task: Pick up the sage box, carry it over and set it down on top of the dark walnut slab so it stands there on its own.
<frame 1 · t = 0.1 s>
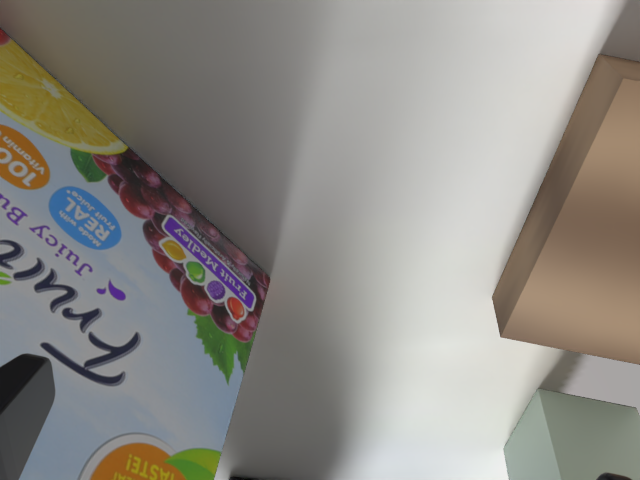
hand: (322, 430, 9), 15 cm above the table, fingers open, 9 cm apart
snack box: (61, 139, 24), on the table
sage box: (566, 428, 30), on the table
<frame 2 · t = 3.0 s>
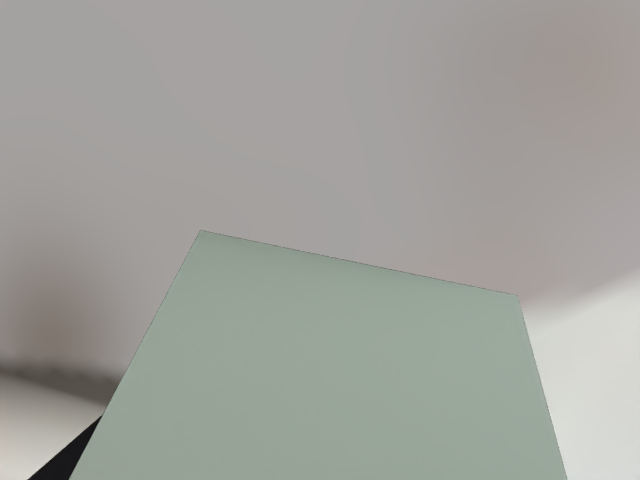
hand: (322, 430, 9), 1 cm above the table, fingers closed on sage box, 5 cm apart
sage box: (330, 372, 10), on the table, touching gripper
when the fingers open (5 cm above the table, at t = 6.1 s): sage box drops 1 cm, point 2 cm above the table.
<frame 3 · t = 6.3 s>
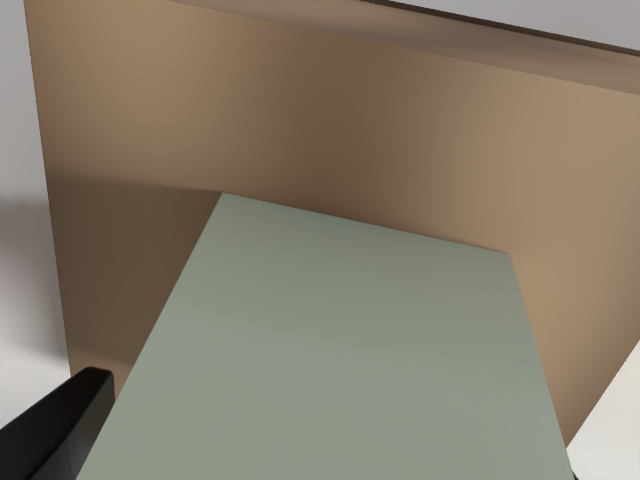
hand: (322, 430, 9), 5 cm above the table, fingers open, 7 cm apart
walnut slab: (345, 242, 14), on the table
sage box: (337, 328, 11), point 2 cm above the table
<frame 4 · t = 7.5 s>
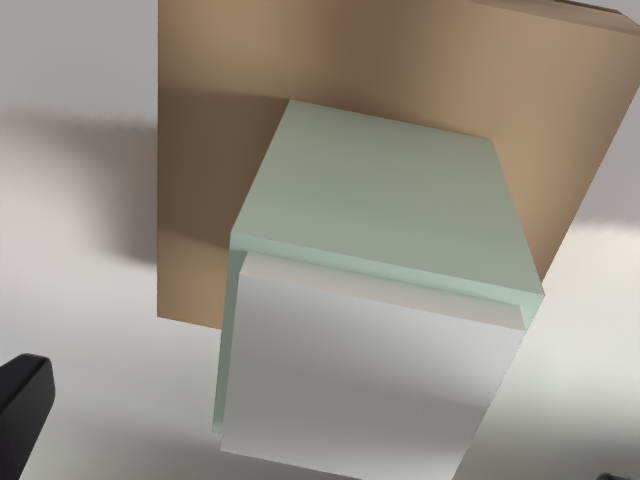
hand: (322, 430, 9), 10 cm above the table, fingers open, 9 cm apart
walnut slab: (363, 158, 18), on the table
sage box: (369, 206, 15), point 2 cm above the table
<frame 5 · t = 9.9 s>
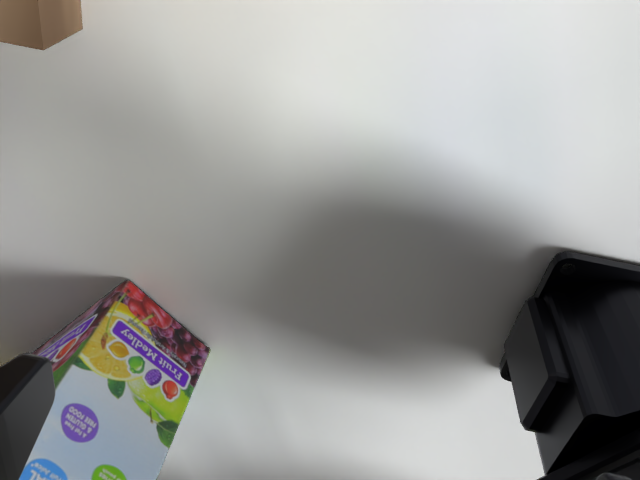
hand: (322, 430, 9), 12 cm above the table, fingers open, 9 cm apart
snack box: (43, 397, 30), on the table
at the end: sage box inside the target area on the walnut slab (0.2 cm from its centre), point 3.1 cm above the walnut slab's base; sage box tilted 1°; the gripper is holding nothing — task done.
